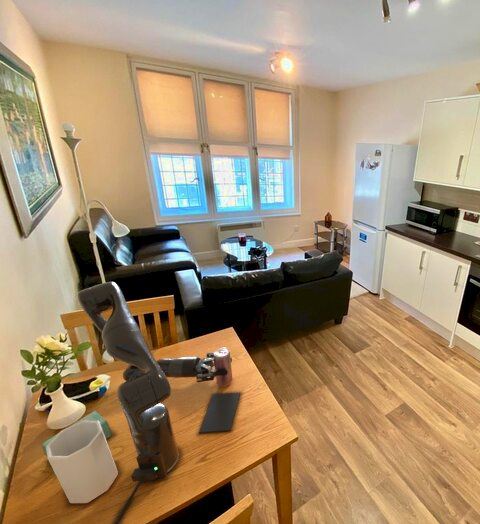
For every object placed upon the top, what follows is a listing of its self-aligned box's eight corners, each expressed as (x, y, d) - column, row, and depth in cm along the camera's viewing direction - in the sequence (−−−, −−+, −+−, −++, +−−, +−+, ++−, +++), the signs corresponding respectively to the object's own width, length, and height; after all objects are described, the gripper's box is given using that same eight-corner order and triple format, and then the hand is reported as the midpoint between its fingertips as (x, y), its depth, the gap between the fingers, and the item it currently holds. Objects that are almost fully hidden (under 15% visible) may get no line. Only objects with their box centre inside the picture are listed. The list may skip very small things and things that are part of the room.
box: (47, 460, 86) (39, 443, 83) (101, 425, 97) (95, 409, 94) (59, 473, 83) (51, 456, 80) (113, 435, 94) (107, 419, 91)
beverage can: (227, 388, 114) (223, 358, 108) (213, 385, 115) (209, 355, 109) (235, 377, 120) (232, 348, 114) (222, 374, 121) (219, 345, 115)
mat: (230, 430, 99) (230, 429, 98) (199, 433, 97) (199, 432, 97) (240, 393, 113) (240, 392, 113) (213, 395, 112) (213, 394, 111)
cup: (113, 494, 79) (95, 449, 72) (60, 513, 74) (35, 467, 67) (122, 456, 88) (107, 413, 81) (75, 471, 84) (55, 427, 77)
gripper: (175, 373, 104) (224, 371, 107) (190, 347, 117) (233, 346, 120) (178, 389, 107) (225, 386, 110) (192, 361, 120) (234, 360, 123)
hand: (229, 365), depth 115 cm, fingers closed on beverage can, 6 cm apart
